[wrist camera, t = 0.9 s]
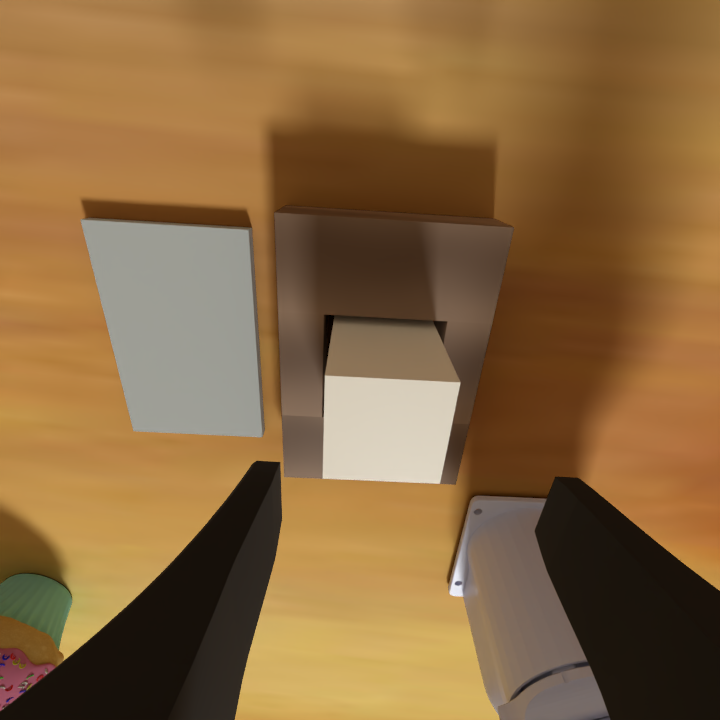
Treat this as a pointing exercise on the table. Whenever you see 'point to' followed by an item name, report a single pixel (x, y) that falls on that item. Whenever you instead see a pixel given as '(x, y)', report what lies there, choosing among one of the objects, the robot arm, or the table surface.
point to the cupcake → (29, 631)
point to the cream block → (387, 400)
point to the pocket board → (380, 304)
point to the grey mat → (181, 323)
